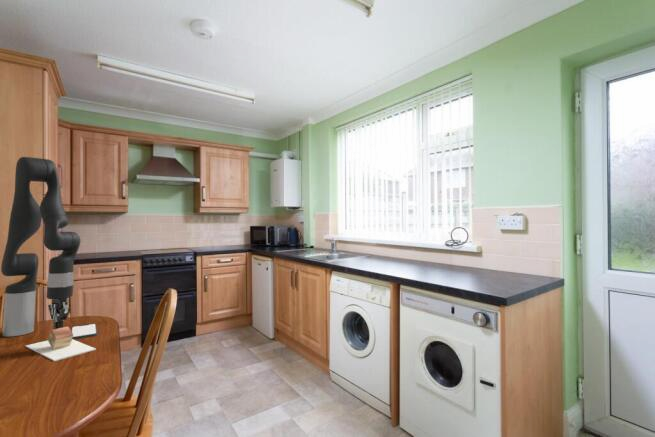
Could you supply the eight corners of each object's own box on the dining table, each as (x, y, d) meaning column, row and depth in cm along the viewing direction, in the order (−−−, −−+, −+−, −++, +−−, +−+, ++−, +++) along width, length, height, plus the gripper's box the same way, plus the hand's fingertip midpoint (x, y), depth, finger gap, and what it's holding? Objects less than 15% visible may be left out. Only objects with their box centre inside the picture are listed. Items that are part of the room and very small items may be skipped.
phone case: (97, 337, 128) (96, 326, 141) (97, 333, 128) (96, 323, 141) (69, 341, 123) (71, 330, 135) (69, 337, 123) (71, 326, 135)
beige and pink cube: (48, 341, 114) (51, 329, 113) (65, 337, 118) (68, 326, 117) (53, 349, 112) (56, 338, 111) (70, 345, 116) (73, 334, 115)
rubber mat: (25, 346, 115) (25, 345, 115) (65, 337, 126) (65, 336, 126) (54, 361, 103) (54, 360, 103) (95, 349, 113) (95, 348, 113)
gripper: (40, 284, 117) (37, 331, 116) (55, 288, 110) (52, 337, 109) (64, 281, 123) (62, 326, 123) (80, 285, 117) (78, 331, 116)
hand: (58, 331), depth 116 cm, fingers closed
